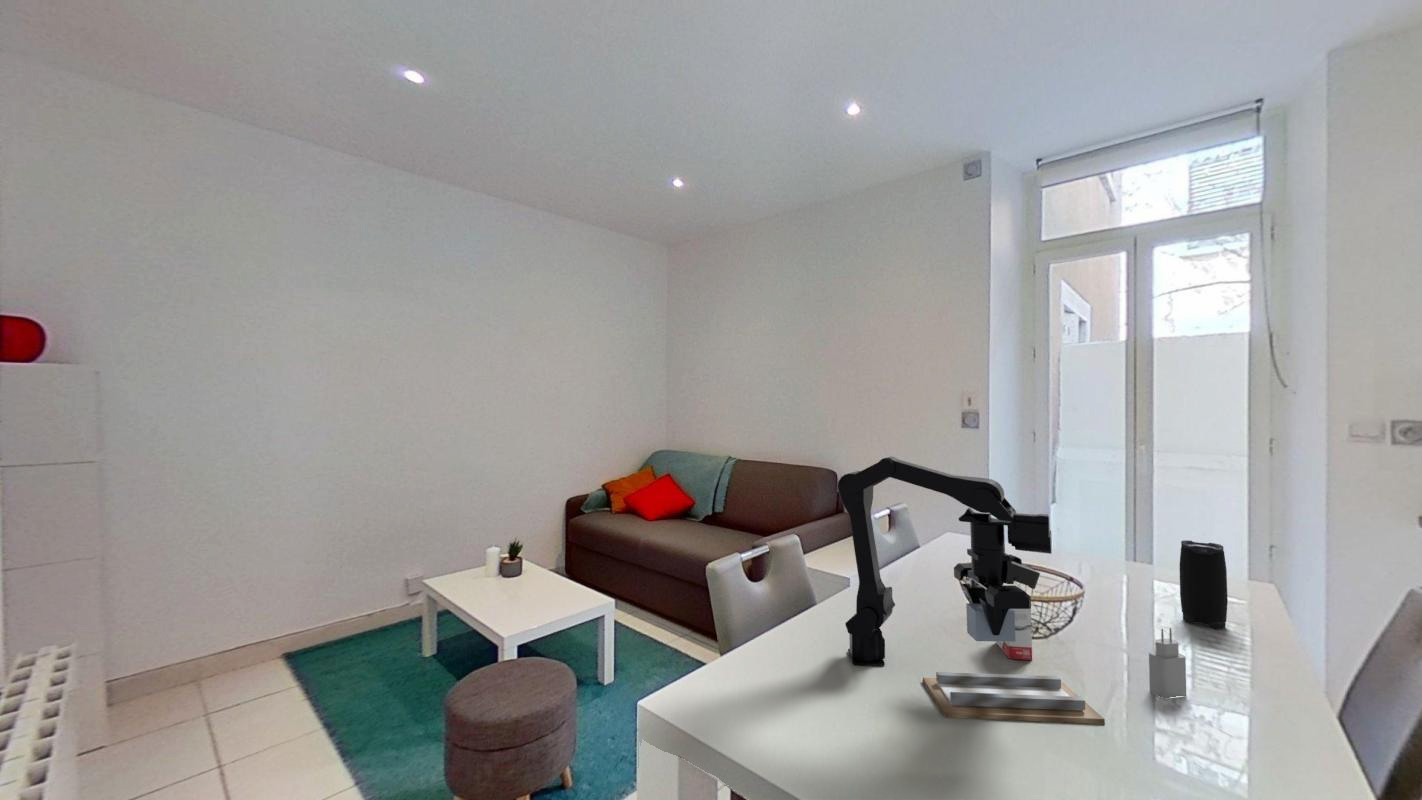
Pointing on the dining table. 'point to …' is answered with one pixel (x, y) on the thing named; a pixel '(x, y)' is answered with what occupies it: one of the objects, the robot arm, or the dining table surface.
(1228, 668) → the dining table surface
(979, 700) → the rail mount
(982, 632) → the block
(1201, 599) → the portable speaker
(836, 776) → the dining table surface
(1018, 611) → the ink box
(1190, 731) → the dining table surface
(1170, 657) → the power adapter
